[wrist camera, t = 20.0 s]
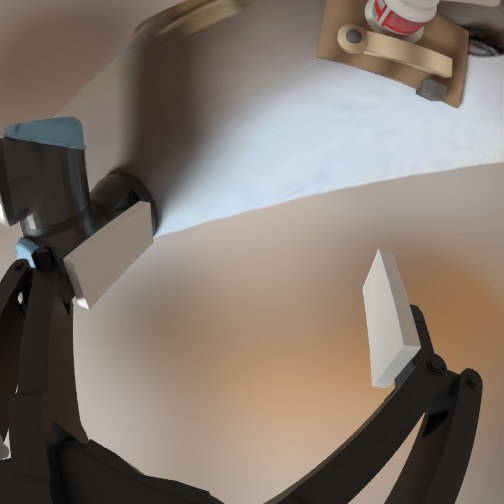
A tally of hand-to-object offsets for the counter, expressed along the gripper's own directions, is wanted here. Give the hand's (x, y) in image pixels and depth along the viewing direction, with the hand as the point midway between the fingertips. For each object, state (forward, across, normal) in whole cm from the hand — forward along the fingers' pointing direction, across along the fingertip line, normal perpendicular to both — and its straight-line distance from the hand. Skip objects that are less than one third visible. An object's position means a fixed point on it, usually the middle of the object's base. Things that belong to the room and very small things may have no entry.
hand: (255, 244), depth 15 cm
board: (+24, +11, +20) cm, 34 cm away
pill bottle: (+23, +10, +23) cm, 34 cm away
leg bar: (+23, +10, +18) cm, 30 cm away
